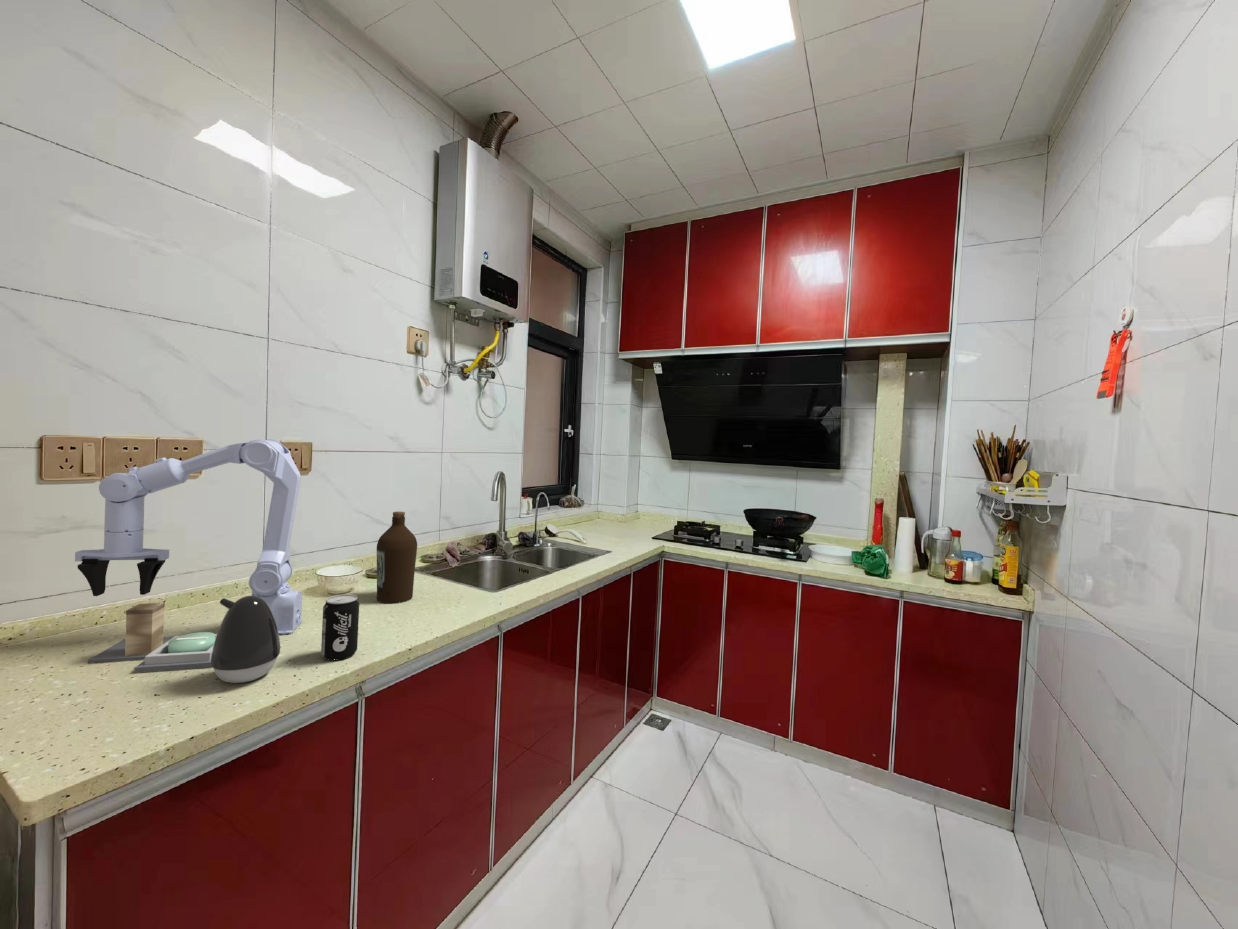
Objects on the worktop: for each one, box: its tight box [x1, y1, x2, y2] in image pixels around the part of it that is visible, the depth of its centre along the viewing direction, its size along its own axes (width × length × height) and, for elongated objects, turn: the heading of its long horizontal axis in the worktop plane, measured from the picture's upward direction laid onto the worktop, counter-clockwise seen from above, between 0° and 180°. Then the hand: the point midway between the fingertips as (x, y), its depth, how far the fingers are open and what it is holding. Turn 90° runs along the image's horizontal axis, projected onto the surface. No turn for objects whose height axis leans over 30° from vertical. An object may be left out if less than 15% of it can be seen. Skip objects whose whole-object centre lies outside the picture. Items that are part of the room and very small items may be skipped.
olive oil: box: [376, 511, 418, 604], centre depth 136 cm, size 11×11×25 cm
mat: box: [87, 636, 175, 664], centre depth 96 cm, size 10×10×1 cm
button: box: [168, 631, 216, 653], centre depth 95 cm, size 7×7×3 cm
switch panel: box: [133, 633, 217, 674], centre depth 95 cm, size 12×12×2 cm
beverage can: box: [320, 593, 360, 661], centre depth 100 cm, size 7×7×12 cm
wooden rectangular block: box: [125, 602, 166, 656], centre depth 95 cm, size 4×4×9 cm
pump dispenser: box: [211, 595, 281, 684], centre depth 89 cm, size 10×10×15 cm
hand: (122, 594), depth 100 cm, fingers open, 7 cm apart
